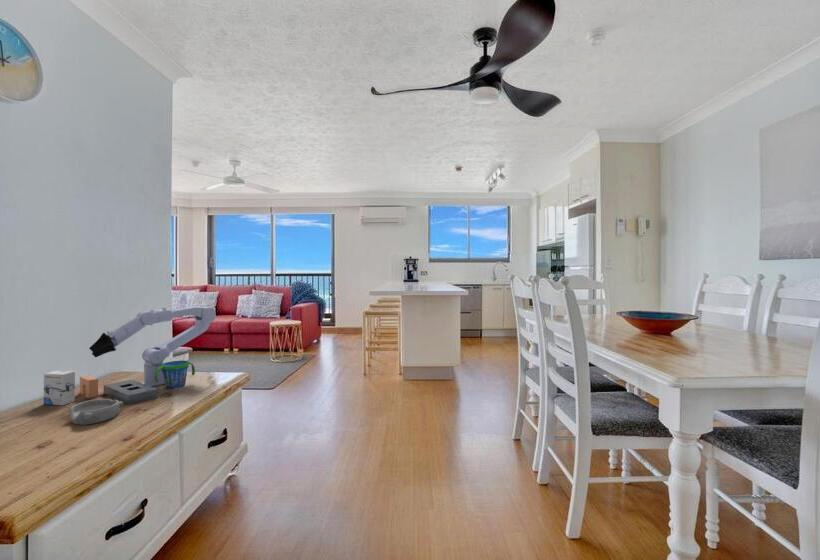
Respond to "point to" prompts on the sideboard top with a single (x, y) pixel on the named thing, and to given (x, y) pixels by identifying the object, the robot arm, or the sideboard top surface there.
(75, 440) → the sideboard top surface
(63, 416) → the sideboard top surface
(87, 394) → the tan rectangular block
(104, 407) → the dish
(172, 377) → the snack cup
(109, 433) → the sideboard top surface
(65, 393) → the ink box
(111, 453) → the sideboard top surface
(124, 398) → the grey slotted block
